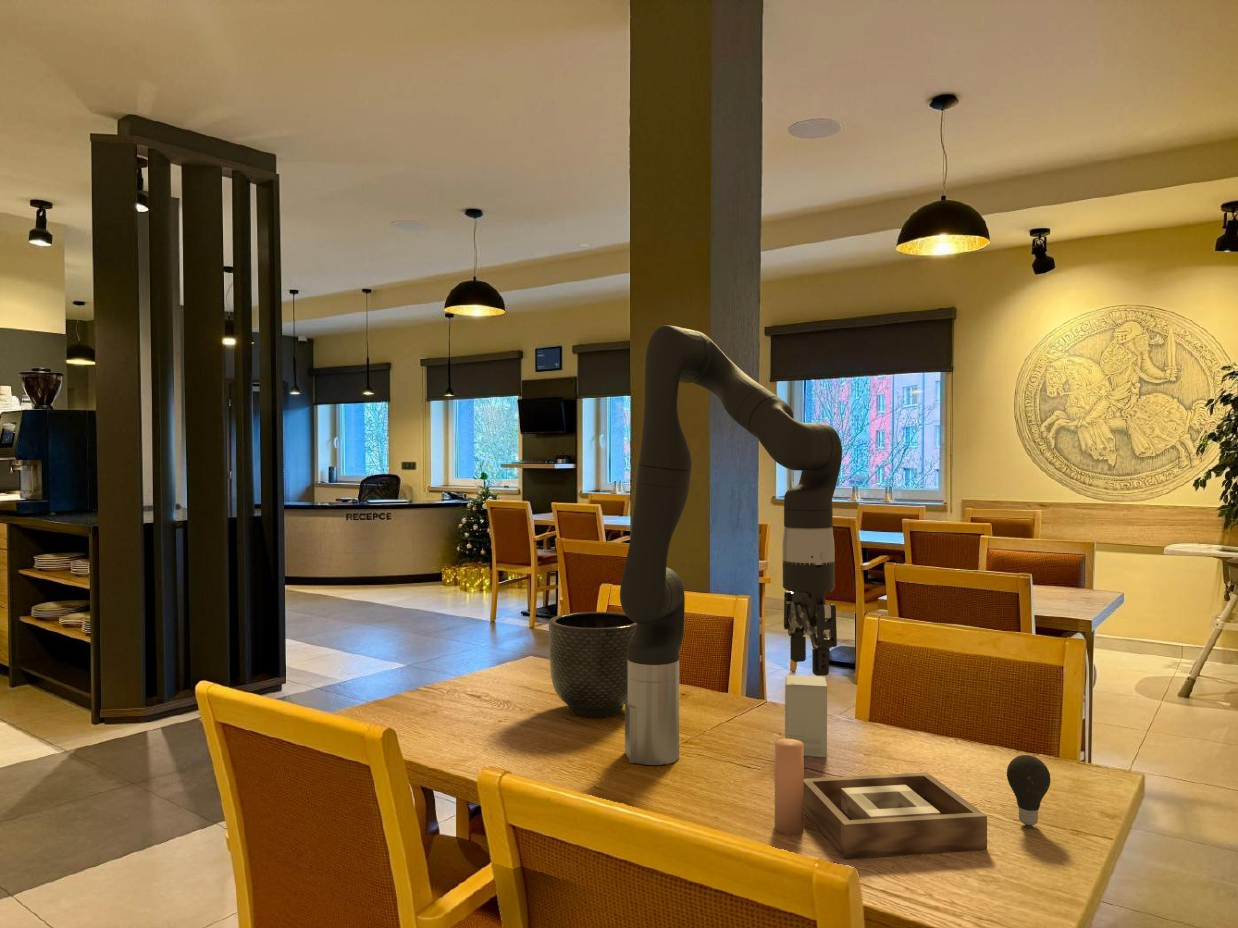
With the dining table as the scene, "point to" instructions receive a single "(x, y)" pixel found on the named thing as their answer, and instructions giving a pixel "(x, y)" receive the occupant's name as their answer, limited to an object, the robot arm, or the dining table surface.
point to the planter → (590, 661)
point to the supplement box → (807, 713)
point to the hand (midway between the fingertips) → (809, 667)
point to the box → (893, 815)
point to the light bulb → (1028, 786)
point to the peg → (789, 786)
